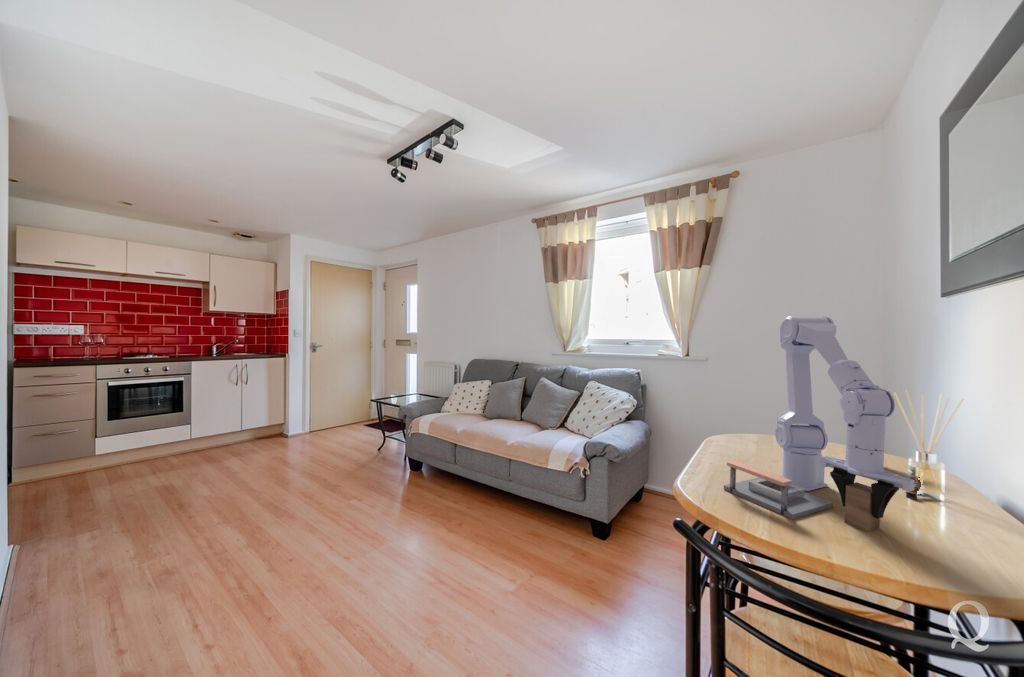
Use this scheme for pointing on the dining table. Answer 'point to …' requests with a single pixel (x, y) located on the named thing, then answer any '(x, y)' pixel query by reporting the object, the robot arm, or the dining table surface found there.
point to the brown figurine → (916, 488)
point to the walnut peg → (860, 507)
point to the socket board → (774, 492)
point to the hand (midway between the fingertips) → (862, 511)
